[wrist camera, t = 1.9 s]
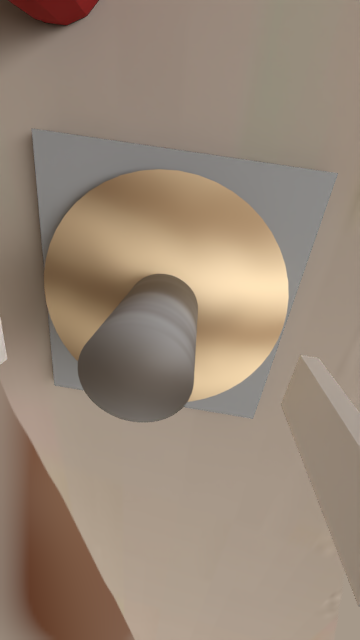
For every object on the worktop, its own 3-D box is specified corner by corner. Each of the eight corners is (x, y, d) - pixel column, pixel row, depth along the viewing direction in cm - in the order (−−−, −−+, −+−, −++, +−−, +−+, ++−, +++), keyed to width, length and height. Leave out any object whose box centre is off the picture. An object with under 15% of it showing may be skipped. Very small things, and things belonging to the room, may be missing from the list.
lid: (42, 152, 14) (-134, 98, 7) (320, 193, 14) (453, 184, 6) (59, 376, 20) (-22, 473, 13) (249, 407, 20) (275, 525, 13)
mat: (42, 133, 14) (31, 128, 13) (329, 175, 14) (338, 173, 13) (60, 377, 22) (54, 385, 21) (250, 409, 21) (253, 418, 20)
